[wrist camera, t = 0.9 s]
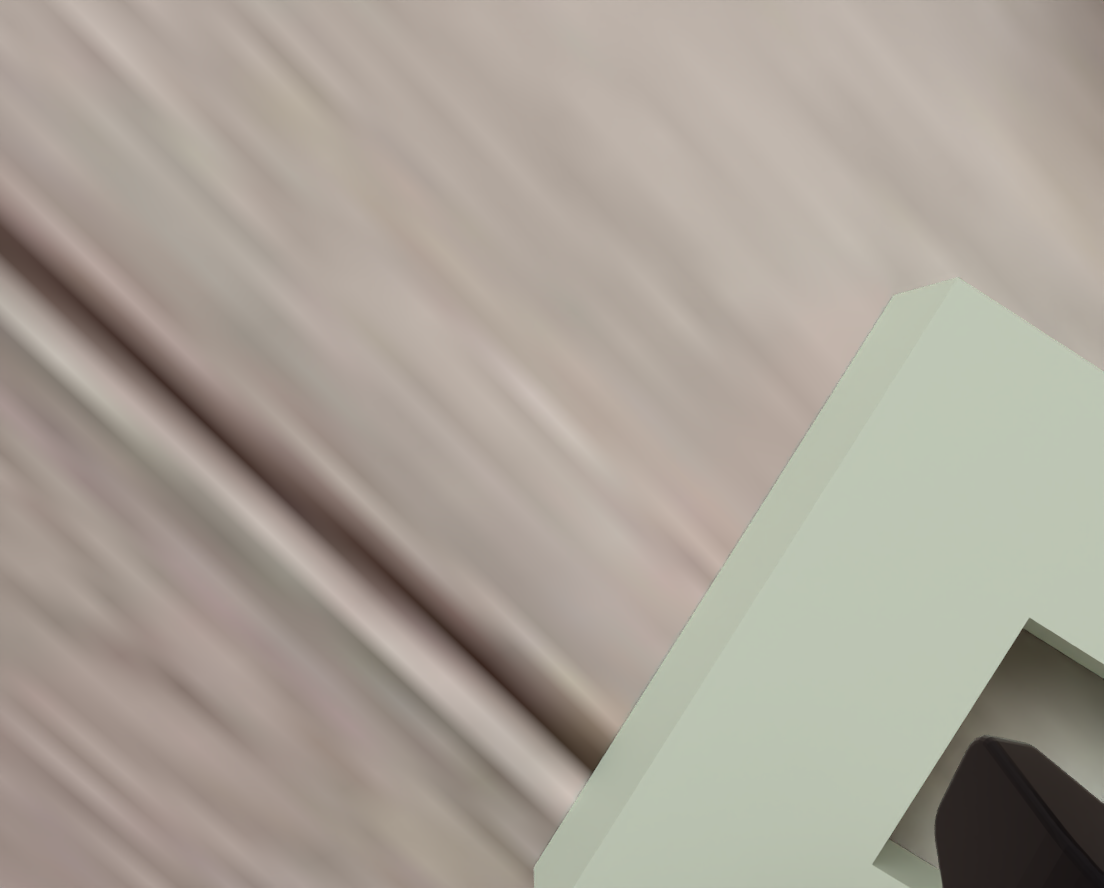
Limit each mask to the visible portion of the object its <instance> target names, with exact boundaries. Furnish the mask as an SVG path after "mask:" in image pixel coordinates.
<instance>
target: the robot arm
mask: <svg viewBox="0 0 1104 888" xmlns="http://www.w3.org/2000/svg"><path fill="white" fill-rule="evenodd" d="M935 842H936V849H937V855H938V862H939V868H940V875H941V881H942V888H1104V804H1103V803H1102V802H1101V801H1100V800H1098V799H1097V798H1096V797H1095V796H1094V795H1092V794H1091V793H1090V792H1089V791H1088V790H1086V789H1085V788H1084V787H1083V786H1081V785H1080V784H1079V783H1078V782H1077V781H1075V780H1074V779H1073V778H1072V777H1071V776H1069V775H1068V774H1067V773H1066V772H1064V771H1063V770H1062V769H1061V768H1060V767H1058V766H1057V765H1056V764H1055V763H1053V762H1052V761H1051V760H1050V759H1049V758H1047V757H1046V756H1045V755H1044V754H1043V753H1041V752H1040V751H1039V750H1038V749H1036V748H1035V747H1034V746H1032V745H1030V744H1027V743H1024V742H1019V741H1014V740H1010V739H1005V738H1000V737H995V736H990V735H984V736H980V737H978V738H976V739H975V740H974V741H973V742H972V743H971V744H970V745H969V747H968V748H967V750H966V752H965V754H964V756H963V758H962V760H961V762H960V764H959V766H958V768H957V770H956V772H955V774H954V776H953V778H952V780H951V782H950V784H949V786H948V788H947V790H946V792H945V794H944V796H943V798H942V800H941V802H940V805H939V807H938V810H937V814H936V819H935Z"/></svg>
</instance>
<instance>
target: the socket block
mask: <svg viewBox="0 0 1104 888" xmlns="http://www.w3.org/2000/svg"><path fill="white" fill-rule="evenodd" d="M1022 628H1024V629H1025V630H1027V631H1028V632H1030V633H1031V634H1033V635H1035V636H1036V637H1038V638H1039V639H1041V640H1043V641H1044V642H1046V643H1047V644H1049V645H1051V646H1052V647H1054V648H1055V649H1057V650H1059V651H1060V652H1062V653H1063V654H1065V655H1066V656H1068V657H1070V658H1071V659H1073V660H1074V661H1076V662H1078V663H1079V664H1081V665H1082V666H1084V667H1086V668H1087V669H1089V670H1090V671H1092V672H1094V673H1095V674H1097V675H1098V676H1100V677H1101V678H1103V679H1104V371H1102V370H1101V369H1099V368H1098V367H1096V366H1094V365H1093V364H1091V363H1090V362H1088V361H1087V360H1085V359H1084V358H1082V357H1081V356H1079V355H1077V354H1076V353H1074V352H1073V351H1071V350H1070V349H1068V348H1067V347H1065V346H1064V345H1062V344H1060V343H1059V342H1057V341H1056V340H1054V339H1053V338H1051V337H1050V336H1048V335H1047V334H1045V333H1043V332H1042V331H1040V330H1039V329H1037V328H1036V327H1034V326H1033V325H1031V324H1030V323H1028V322H1026V321H1025V320H1023V319H1022V318H1020V317H1019V316H1017V315H1016V314H1014V313H1013V312H1011V311H1009V310H1008V309H1006V308H1005V307H1003V306H1002V305H1000V304H999V303H997V302H996V301H994V300H992V299H991V298H989V297H988V296H986V295H985V294H983V293H982V292H980V291H979V290H977V289H975V288H974V287H972V286H971V285H969V284H968V283H966V282H965V281H963V280H962V279H960V278H958V277H957V278H954V279H950V280H946V281H943V282H939V283H936V284H932V285H928V286H925V287H921V288H917V289H914V290H910V291H907V292H903V293H899V294H896V295H894V296H893V297H892V299H891V300H890V302H889V304H888V305H887V307H886V308H885V310H884V312H883V313H882V315H881V316H880V318H879V319H878V321H877V323H876V324H875V326H874V327H873V329H872V331H871V332H870V334H869V335H868V337H867V339H866V340H865V342H864V343H863V345H862V346H861V348H860V350H859V351H858V353H857V354H856V356H855V358H854V359H853V361H852V362H851V364H850V366H849V367H848V369H847V370H846V372H845V373H844V375H843V377H842V378H841V380H840V381H839V383H838V385H837V386H836V388H835V389H834V391H833V393H832V394H831V396H830V397H829V399H828V401H827V402H826V404H825V405H824V407H823V408H822V410H821V412H820V413H819V415H818V416H817V418H816V420H815V421H814V423H813V424H812V426H811V428H810V429H809V431H808V432H807V434H806V435H805V437H804V439H803V440H802V442H801V443H800V445H799V447H798V448H797V450H796V451H795V453H794V455H793V456H792V458H791V459H790V461H789V462H788V464H787V466H786V467H785V469H784V470H783V472H782V474H781V475H780V477H779V478H778V480H777V482H776V483H775V485H774V486H773V488H772V490H771V491H770V493H769V494H768V496H767V497H766V499H765V501H764V502H763V504H762V505H761V507H760V509H759V510H758V512H757V513H756V515H755V517H754V518H753V520H752V521H751V523H750V524H749V526H748V528H747V529H746V531H745V532H744V534H743V536H742V537H741V539H740V540H739V542H738V544H737V545H736V547H735V548H734V550H733V551H732V553H731V555H730V556H729V558H728V559H727V561H726V563H725V564H724V566H723V567H722V569H721V571H720V572H719V574H718V575H717V577H716V579H715V580H714V582H713V583H712V585H711V586H710V588H709V590H708V591H707V593H706V594H705V596H704V598H703V599H702V601H701V602H700V604H699V606H698V607H697V609H696V610H695V612H694V613H693V615H692V617H691V618H690V620H689V621H688V623H687V625H686V626H685V628H684V629H683V631H682V633H681V634H680V636H679V637H678V639H677V640H676V642H675V644H674V645H673V647H672V648H671V650H670V652H669V653H668V655H667V656H666V658H665V660H664V661H663V663H662V664H661V666H660V668H659V669H658V671H657V672H656V674H655V675H654V677H653V679H652V680H651V682H650V683H649V685H648V687H647V688H646V690H645V691H644V693H643V695H642V696H641V698H640V699H639V701H638V702H637V704H636V706H635V707H634V709H633V710H632V712H631V714H630V715H629V717H628V718H627V720H626V722H625V723H624V725H623V726H622V728H621V729H620V731H619V733H618V734H617V736H616V737H615V739H614V741H613V742H612V744H611V745H610V747H609V749H608V750H607V752H606V753H605V755H604V757H603V758H602V760H601V761H600V763H599V764H598V766H597V768H596V769H595V771H594V772H593V774H592V776H591V777H590V779H589V780H588V782H587V784H586V785H585V787H584V788H583V790H582V791H581V793H580V795H579V796H578V798H577V799H576V801H575V803H574V804H573V806H572V807H571V809H570V811H569V812H568V814H567V815H566V817H565V818H564V820H563V822H562V823H561V825H560V826H559V828H558V830H557V831H556V833H555V834H554V836H553V838H552V839H551V841H550V842H549V844H548V846H547V847H546V849H545V850H544V852H543V853H542V855H541V857H540V858H539V860H538V861H537V863H536V865H535V866H534V888H942V881H941V875H940V870H939V869H937V868H935V867H934V866H932V865H930V864H929V863H927V862H926V861H924V860H922V859H921V858H919V857H917V856H916V855H914V854H912V853H911V852H909V851H908V850H906V849H904V848H903V847H901V846H899V845H898V844H896V843H894V842H893V841H891V840H890V839H889V837H890V835H891V834H892V832H893V831H894V829H895V828H896V826H897V824H898V823H899V821H900V820H901V818H902V817H903V815H904V813H905V812H906V810H907V809H908V807H909V806H910V804H911V802H912V801H913V799H914V798H915V796H916V795H917V793H918V791H919V790H920V788H921V787H922V785H923V784H924V782H925V780H926V779H927V777H928V776H929V774H930V773H931V771H932V769H933V768H934V766H935V765H936V763H937V762H938V760H939V758H940V757H941V755H942V754H943V752H944V751H945V749H946V747H947V746H948V744H949V743H950V741H951V740H952V738H953V737H954V735H955V733H956V732H957V730H958V729H959V727H960V726H961V724H962V722H963V721H964V719H965V718H966V716H967V715H968V713H969V711H970V710H971V708H972V707H973V705H974V704H975V702H976V700H977V699H978V697H979V696H980V694H981V693H982V691H983V689H984V688H985V686H986V685H987V683H988V682H989V680H990V678H991V677H992V675H993V674H994V672H995V671H996V669H997V667H998V666H999V664H1000V663H1001V661H1002V660H1003V658H1004V656H1005V655H1006V653H1007V652H1008V650H1009V649H1010V647H1011V645H1012V644H1013V642H1014V641H1015V639H1016V638H1017V636H1018V635H1019V633H1020V631H1021V630H1022Z"/></svg>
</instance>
